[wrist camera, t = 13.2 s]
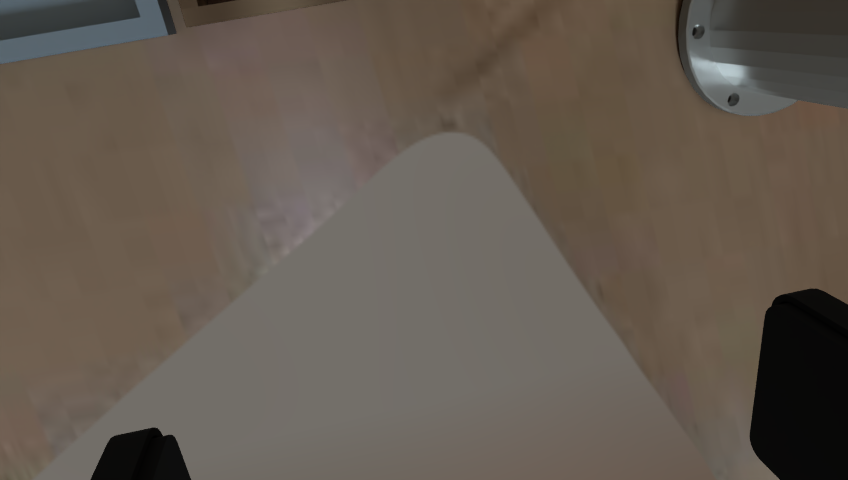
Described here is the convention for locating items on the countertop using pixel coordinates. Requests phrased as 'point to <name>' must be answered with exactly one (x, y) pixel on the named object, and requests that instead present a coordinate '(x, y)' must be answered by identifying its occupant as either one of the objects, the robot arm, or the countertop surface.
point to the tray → (77, 25)
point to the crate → (238, 9)
